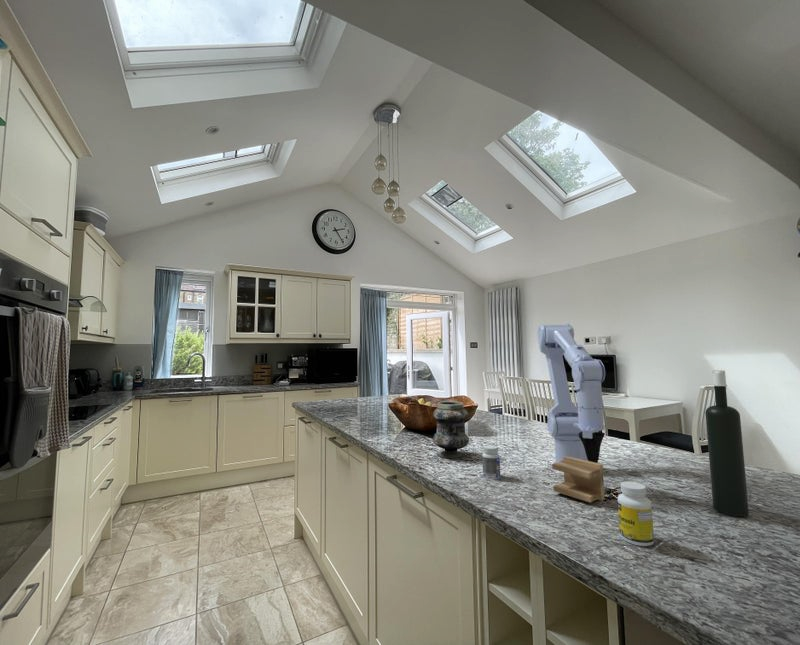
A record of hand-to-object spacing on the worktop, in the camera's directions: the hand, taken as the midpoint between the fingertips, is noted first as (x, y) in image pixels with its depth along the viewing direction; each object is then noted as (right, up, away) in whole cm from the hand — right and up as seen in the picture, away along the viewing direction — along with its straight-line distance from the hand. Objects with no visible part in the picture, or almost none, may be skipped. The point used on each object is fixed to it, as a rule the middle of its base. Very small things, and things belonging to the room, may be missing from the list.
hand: (593, 462), depth 94 cm
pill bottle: (-23, -8, +10) cm, 26 cm away
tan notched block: (-9, -2, -7) cm, 11 cm away
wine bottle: (+22, -5, -14) cm, 27 cm away
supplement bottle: (-5, -5, -25) cm, 26 cm away
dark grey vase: (-32, -10, +31) cm, 45 cm away
